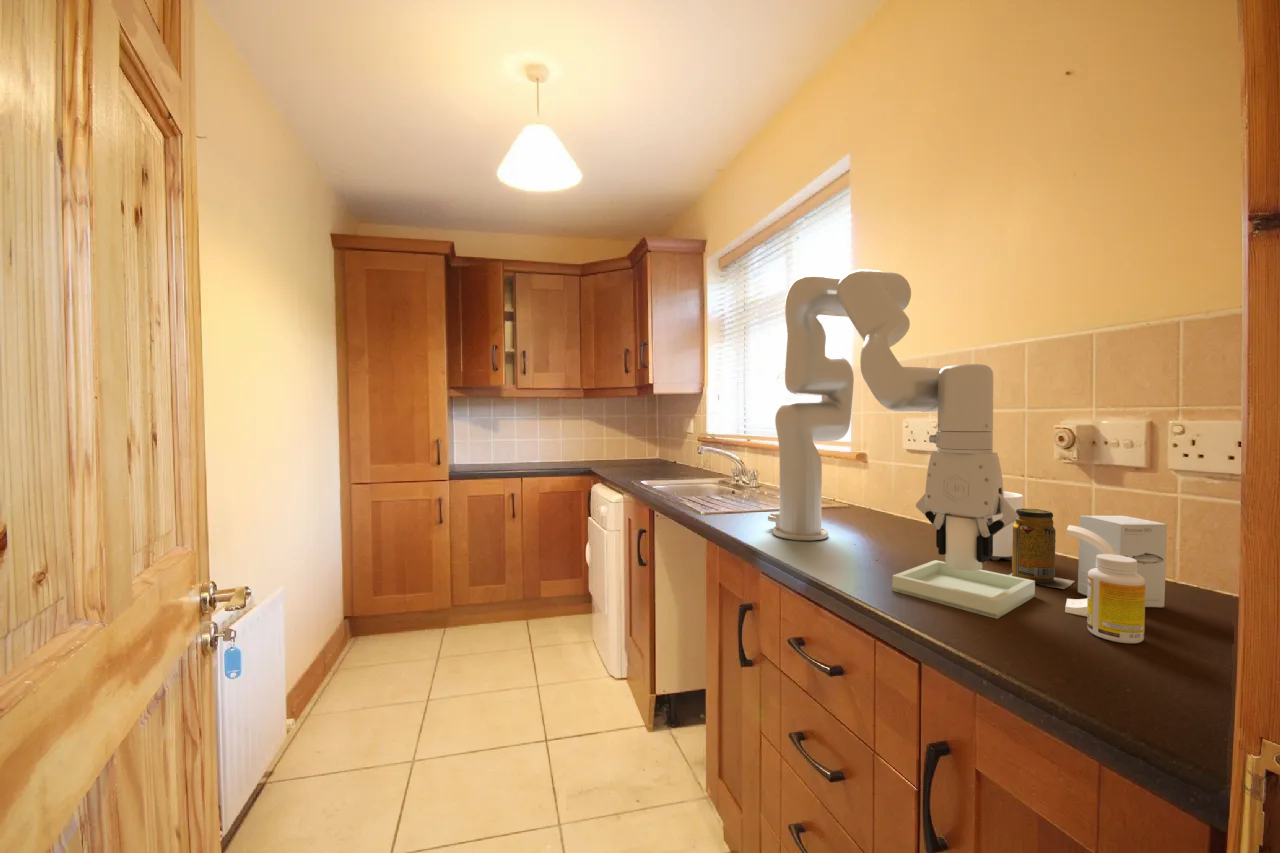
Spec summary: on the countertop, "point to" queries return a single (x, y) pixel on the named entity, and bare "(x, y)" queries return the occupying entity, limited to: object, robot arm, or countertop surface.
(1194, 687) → the countertop surface
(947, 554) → the shaker
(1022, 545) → the condiment
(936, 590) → the tray
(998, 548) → the cup
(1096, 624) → the supplement bottle
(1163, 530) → the supplement box
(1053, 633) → the countertop surface
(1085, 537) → the headphone stand
